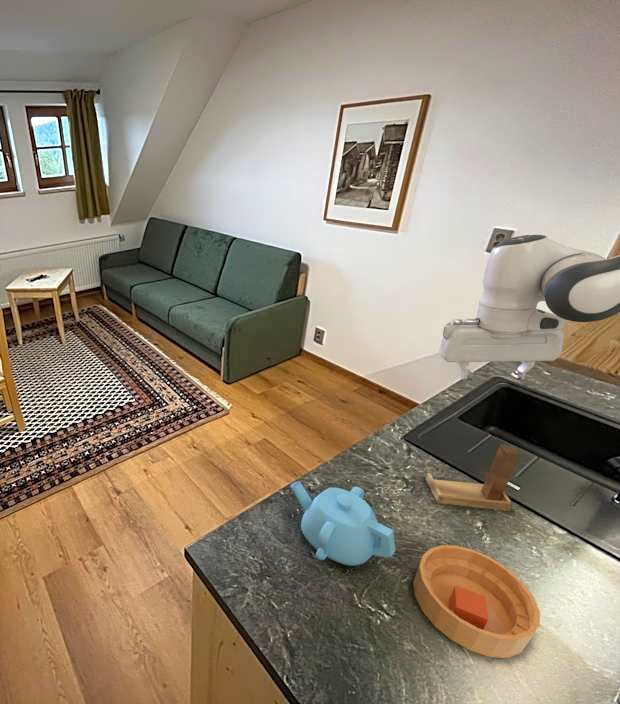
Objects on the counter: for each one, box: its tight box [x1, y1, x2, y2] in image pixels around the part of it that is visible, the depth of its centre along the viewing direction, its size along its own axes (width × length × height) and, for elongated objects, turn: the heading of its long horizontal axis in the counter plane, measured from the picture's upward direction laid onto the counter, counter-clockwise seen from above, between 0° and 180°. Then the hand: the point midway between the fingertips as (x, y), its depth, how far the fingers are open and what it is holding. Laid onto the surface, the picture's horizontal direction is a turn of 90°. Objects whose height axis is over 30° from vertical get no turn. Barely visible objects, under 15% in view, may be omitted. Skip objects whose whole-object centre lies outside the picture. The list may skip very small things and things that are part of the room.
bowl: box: [412, 544, 541, 659], centre depth 65 cm, size 15×15×6 cm
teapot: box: [290, 481, 396, 567], centre depth 77 cm, size 20×17×12 cm
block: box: [449, 585, 488, 630], centre depth 64 cm, size 4×4×4 cm
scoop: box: [425, 444, 522, 511], centre depth 83 cm, size 7×13×14 cm, turn 77°
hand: (491, 378), depth 87 cm, fingers open, 8 cm apart
